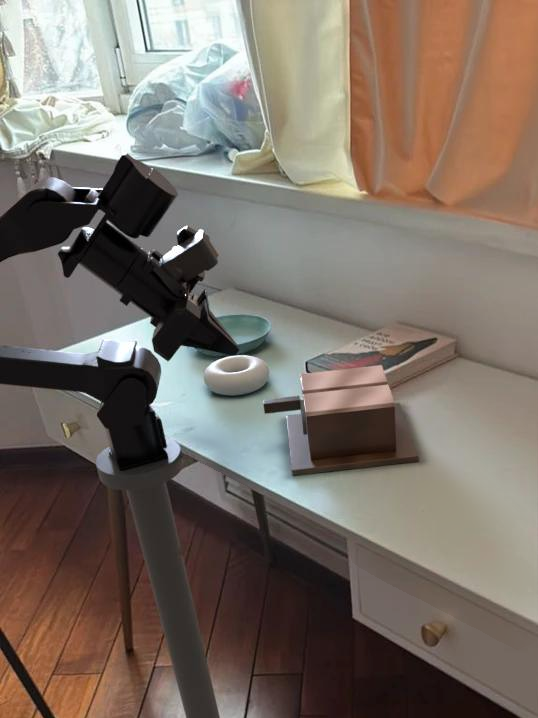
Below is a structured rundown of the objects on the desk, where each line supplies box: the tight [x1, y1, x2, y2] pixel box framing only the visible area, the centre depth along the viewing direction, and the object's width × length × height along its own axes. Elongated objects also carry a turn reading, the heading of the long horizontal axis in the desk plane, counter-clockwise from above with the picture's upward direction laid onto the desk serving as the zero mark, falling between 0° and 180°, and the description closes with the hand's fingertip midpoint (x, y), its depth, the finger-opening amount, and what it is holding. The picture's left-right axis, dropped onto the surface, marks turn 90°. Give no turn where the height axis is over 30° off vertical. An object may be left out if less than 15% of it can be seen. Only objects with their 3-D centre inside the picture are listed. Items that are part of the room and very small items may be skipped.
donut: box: [203, 354, 270, 397], centre depth 129 cm, size 10×4×10 cm
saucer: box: [194, 313, 273, 357], centre depth 143 cm, size 15×15×3 cm
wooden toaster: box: [286, 364, 420, 476], centre depth 111 cm, size 16×16×7 cm
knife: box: [262, 395, 307, 435], centre depth 110 cm, size 16×1×5 cm, turn 95°
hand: (237, 351), depth 104 cm, fingers closed
